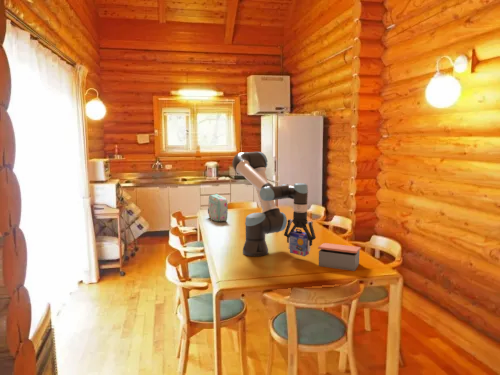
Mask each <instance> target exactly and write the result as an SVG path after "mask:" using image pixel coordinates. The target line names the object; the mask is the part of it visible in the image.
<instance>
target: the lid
mask: <svg viewBox="0 0 500 375" xmlns="http://www.w3.org/2000/svg"><path fill="white" fill-rule="evenodd" d="M317 249H319V250H321V249H325V250H333V251H341V252H349V253H357V252H358V251H359V252H360V250H362V247H360V246H353V245H346V244H345V245H343V244H338V243H337V244H336V243H328V242H324V243H322V244H320V245H318V246H317Z"/></svg>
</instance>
